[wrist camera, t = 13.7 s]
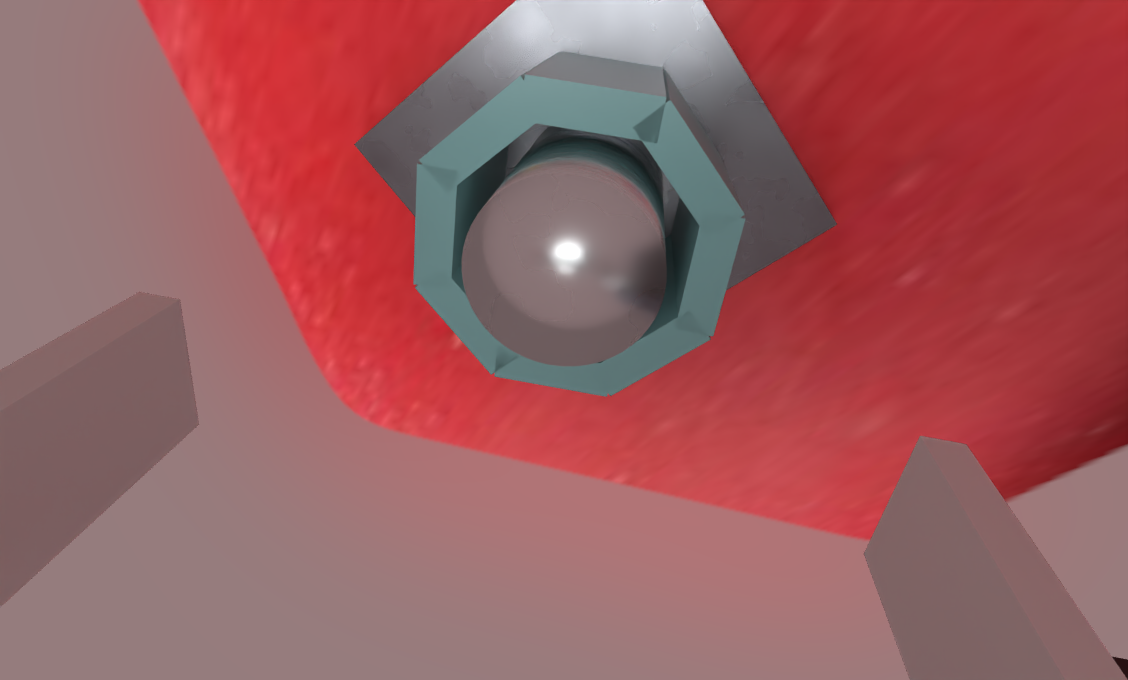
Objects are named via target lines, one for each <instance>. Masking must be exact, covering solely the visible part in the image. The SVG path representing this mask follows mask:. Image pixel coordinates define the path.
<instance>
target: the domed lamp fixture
mask: <svg viewBox="0 0 1128 680" xmlns="http://www.w3.org/2000/svg"><path fill="white" fill-rule="evenodd" d="M561 51H562V52H569V53H575V54H581V55H588V56H594V57H600V58H606V59H613V60H619V61H625V62H632V63H638V64H644V65H650V66H657V67H663V71H664V70H666V71H667V73H668V74H669V76H670V77H671V79H672V80H673V82H674V84H675V85H676V87H677V88H678V90H679V91H680V93H681V95H682V96H683V98H684V99H685V101H686V102H687V104H688V105H689V107H690V109H691V110H692V112H693V113H694V115H695V116H696V118H697V119H698V121H699V123H700V124H701V126H702V127H703V129H704V130H705V132H706V133H707V135H708V137H709V138H710V140H711V141H712V143H713V144H714V146H715V148H716V149H717V151H718V152H719V154H720V156H721V158H722V161H723V163H724V166H725V168H726V170H727V173H728V175H729V178H730V180H731V182H732V185H733V187H734V189H735V192H736V194H737V197H738V199H739V201H740V204H741V206H742V209H743V211H744V213H745V215H744V216H745V218H746V219H745V223H744V226H743V230H742V234H741V237H740V241H739V245H738V248H737V252H736V255H735V259H734V263H733V266H732V270H731V274H730V277H729V281H728V284H727V288H726V290H728V289H729V288H731V287H733V286H734V285H736V284H738V283H739V282H741V281H743V280H744V279H746V278H748V277H749V276H751V275H753V274H755V273H756V272H758V271H760V270H761V269H763V268H765V267H766V266H768V265H770V264H771V263H773V262H775V261H776V260H778V259H780V258H782V257H783V256H785V255H787V254H788V253H790V252H792V251H793V250H795V249H797V248H798V247H800V246H802V245H803V244H805V243H807V242H809V241H810V240H812V239H814V238H815V237H817V236H819V235H820V234H822V233H824V232H825V231H827V230H829V229H830V228H832V227H834V226H836V225H837V223H836V222H835V220H834V218H833V217H832V215H831V213H830V212H829V210H828V208H827V207H826V205H825V203H824V202H823V200H822V198H821V197H820V195H819V193H818V192H817V190H816V188H815V187H814V185H813V183H812V182H811V180H810V178H809V177H808V175H807V173H806V172H805V170H804V168H803V167H802V165H801V163H800V162H799V160H798V158H797V157H796V155H795V153H794V152H793V150H792V148H791V147H790V145H789V143H788V142H787V140H786V138H785V137H784V135H783V133H782V132H781V130H780V128H779V127H778V125H777V123H776V122H775V120H774V118H773V117H772V115H771V113H770V112H769V110H768V109H767V107H766V105H765V104H764V102H763V100H762V99H761V97H760V95H759V94H758V92H757V90H756V89H755V87H754V85H753V84H752V82H751V80H750V79H749V77H748V75H747V74H746V72H745V70H744V69H743V67H742V65H741V64H740V62H739V60H738V59H737V57H736V55H735V54H734V52H733V50H732V49H731V47H730V45H729V44H728V42H727V40H726V39H725V37H724V35H723V34H722V32H721V30H720V29H719V27H718V25H717V24H716V22H715V20H714V19H713V17H712V15H711V14H710V12H709V10H708V9H707V7H706V5H705V4H704V2H703V0H516V1H515V2H514V3H513V4H512V5H510V6H509V7H508V8H507V9H506V10H505V11H504V12H503V13H501V14H500V15H499V16H498V17H497V18H496V19H495V20H494V21H492V22H491V23H490V24H489V25H488V26H487V27H486V28H485V29H483V30H482V31H481V32H480V33H479V34H478V35H477V36H476V37H474V38H473V39H472V40H471V41H470V42H469V43H468V44H467V45H465V46H464V47H463V48H462V49H461V50H460V51H459V52H458V53H456V54H455V55H454V56H453V57H452V58H451V59H450V60H449V61H448V62H446V63H445V64H444V65H443V66H442V67H441V68H440V69H439V70H437V71H436V72H435V73H434V74H433V75H432V76H431V77H430V78H428V79H427V80H426V81H425V82H424V83H423V84H422V85H421V86H419V87H418V88H417V89H416V90H415V91H414V92H413V93H412V94H410V95H409V96H408V97H407V98H406V99H405V100H404V101H403V102H401V103H400V104H399V105H398V106H397V107H396V108H395V109H394V110H392V111H391V112H390V113H389V114H388V115H387V116H386V117H385V118H383V119H382V120H381V121H380V122H379V123H378V124H377V125H376V126H374V127H373V128H372V129H371V130H370V131H369V132H368V133H367V134H365V135H364V136H363V137H362V138H361V139H360V140H359V141H358V142H356V143H355V144H354V145H355V146H356V147H357V148H358V150H359V151H360V152H361V153H362V154H363V155H364V157H365V158H366V159H367V160H368V161H369V163H370V164H371V165H372V166H373V167H374V168H375V170H376V171H377V172H378V173H379V174H380V176H381V177H382V178H383V179H384V180H385V182H386V183H387V184H388V185H389V186H390V187H391V189H392V190H393V191H394V192H395V193H396V195H397V196H398V197H399V198H400V199H401V201H402V202H403V203H404V204H405V205H406V206H407V208H408V209H409V210H410V211H411V212H412V214H413V215H414V216H415V217H416V183H417V163H419V162H420V161H419V159H421V158H422V157H423V156H424V155H426V154H427V153H428V152H429V151H430V150H432V149H433V148H434V147H435V146H436V145H438V144H439V143H440V142H441V141H442V140H444V139H445V138H446V137H447V136H448V135H450V134H451V133H452V132H453V131H454V130H456V129H457V128H458V127H459V126H460V125H462V124H463V123H464V122H465V121H466V120H468V119H469V118H470V117H471V116H472V115H474V114H475V113H476V112H477V111H478V110H480V109H481V108H482V107H483V106H484V105H486V104H487V103H488V102H489V101H490V100H492V99H493V98H494V97H495V96H496V95H498V94H499V93H500V92H501V91H502V90H504V89H505V88H506V87H507V86H509V85H510V84H511V83H512V82H513V81H515V80H516V79H517V78H518V77H519V76H521V75H522V74H524V73H525V72H527V71H529V70H530V69H532V68H534V67H535V66H537V65H538V64H540V63H542V62H543V61H545V60H546V59H548V58H550V57H551V56H553V55H555V54H556V53H560V52H561ZM679 197H680V196H679V195H678V193H677V192H676V190H675V189H674V187H673V186H672V185H671V183H670V182H669V180H668V179H667V177H666V176H665V174H664V173H663V171H662V170H661V168H660V167H659V165H658V164H657V162H656V161H655V160H654V158H653V157H652V155H651V154H650V152H649V151H648V149H647V148H646V146H645V145H644V143H643V142H642V141H641V140H635V139H629V138H622V137H616V136H610V135H604V134H598V133H592V132H586V131H580V130H574V129H567V128H561V127H555V126H549V125H543V124H537V123H535V124H534V125H533V126H532V127H530V128H529V129H528V130H526V131H525V132H524V133H523V134H521V135H520V136H519V137H518V138H516V139H515V140H514V141H513V142H511V143H510V144H509V145H508V154H507V165H506V176H505V180H504V181H503V183H502V184H501V185H500V186H499V188H498V189H497V190H496V191H495V193H494V194H493V195H492V196H491V198H490V199H489V200H488V201H487V203H486V204H485V205H484V206H483V208H482V209H481V210H480V212H479V213H478V214H477V216H476V218H475V219H474V221H473V222H472V224H471V226H470V229H469V231H468V233H467V236H466V239H465V243H464V246H463V253H462V278H463V285H464V288H465V292H466V296H467V298H468V300H469V303H470V305H471V308H472V309H473V311H474V313H475V314H476V316H477V318H478V319H479V321H480V322H481V323H482V325H483V326H484V327H485V329H486V330H487V331H488V332H489V333H490V334H491V335H492V336H493V337H494V338H495V339H497V340H498V341H499V342H500V343H501V344H503V345H504V346H506V347H507V348H509V349H510V350H512V351H513V352H515V353H517V354H519V355H521V356H523V357H525V358H528V359H531V360H533V361H536V362H540V363H544V364H548V365H555V366H583V365H589V364H594V363H598V362H601V361H604V360H607V359H609V358H612V357H614V356H616V355H618V354H620V353H622V352H623V351H625V350H626V349H627V348H629V347H630V346H632V345H633V344H634V343H635V342H636V341H637V340H639V339H640V338H641V337H642V336H643V334H644V333H645V332H646V331H647V330H648V329H649V327H650V326H651V324H652V323H653V321H654V320H655V318H656V316H657V314H658V312H659V309H660V307H661V305H662V301H663V298H664V295H665V288H666V279H667V267H666V247H665V238H666V237H668V236H669V235H671V233H672V229H673V224H674V220H675V215H676V211H677V206H678V202H679Z"/></svg>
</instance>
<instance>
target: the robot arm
mask: <svg viewBox="0 0 1128 680" xmlns="http://www.w3.org/2000/svg"><path fill="white" fill-rule="evenodd" d="M198 425H199V421H198V414H197V408H196V401H195V394H194V388H193V381H192V375H191V368H190V362H189V355H188V349H187V342H186V335H185V329H184V323H183V316H182V309H181V302H180V299H176V298H170V297H165V296H159V295H154V294H149V293H142V292H138V293H136V294H135V295H133V296H131V297H129V298H128V299H126V300H124V301H122V302H120V303H119V304H117V305H115V306H113V307H112V308H110V309H108V310H106V311H104V312H103V313H101V314H99V315H97V316H96V317H94V318H92V319H90V320H88V321H86V322H85V323H83V324H81V325H79V326H78V327H76V328H74V329H72V330H70V331H69V332H67V333H65V334H63V335H62V336H60V337H58V338H56V339H55V340H53V341H51V342H49V343H47V344H46V345H44V346H42V347H40V348H39V349H37V350H35V351H33V352H31V353H29V354H28V355H26V356H24V357H22V358H20V359H19V360H17V361H15V362H14V363H12V364H10V365H8V366H6V367H5V368H3V369H1V370H0V607H1V606H2V605H3V604H4V603H5V602H7V601H8V600H9V599H10V598H11V597H12V596H13V595H14V594H15V593H16V592H17V591H19V590H20V589H21V588H22V587H23V586H24V585H25V584H26V583H27V582H28V581H29V580H30V579H32V578H33V577H34V576H35V575H36V574H37V573H38V572H39V571H40V570H41V569H43V568H44V567H45V566H46V565H47V564H48V563H49V562H50V561H51V560H52V559H53V558H54V557H55V556H57V555H58V554H59V553H60V552H61V551H62V550H63V549H64V548H65V547H66V546H68V545H69V544H70V543H71V542H72V541H73V540H74V539H75V538H76V537H77V536H78V535H79V534H80V533H82V532H83V531H84V530H85V529H86V528H87V527H88V526H89V525H90V524H91V523H92V522H94V521H95V520H96V519H97V518H98V517H99V516H100V515H101V514H102V513H103V512H104V511H106V509H108V508H109V507H110V506H111V505H112V504H113V503H114V502H115V501H116V500H117V499H119V498H120V497H121V496H122V495H123V494H124V493H125V492H126V491H127V490H128V489H129V488H131V487H132V486H133V485H134V484H135V483H136V482H137V481H138V480H139V479H140V478H141V477H142V476H144V475H145V474H146V473H147V472H148V471H149V470H150V469H151V468H152V467H153V466H154V465H156V464H157V463H158V462H159V461H160V460H161V459H162V458H163V457H164V456H165V455H166V454H167V453H169V451H171V450H172V449H173V448H174V447H175V446H176V445H177V444H178V443H179V442H180V441H182V440H183V439H184V438H185V437H186V436H187V435H188V434H189V433H190V432H191V431H192V430H193V429H194V428H196V427H197V426H198ZM864 556H865V558H866V561H867V564H868V567H869V569H870V572H871V575H872V578H873V580H874V583H875V586H876V589H877V591H878V594H879V597H880V600H881V602H882V605H883V608H884V610H885V613H886V616H887V619H888V621H889V624H890V627H891V630H892V632H893V635H894V637H895V641H896V643H897V646H898V649H899V651H900V654H901V657H902V660H903V662H904V665H905V668H906V671H907V673H908V676H909V679H910V680H1128V660H1127V659H1121V658H1116V657H1112V656H1111V655H1110V653H1109V652H1108V651H1107V649H1106V647H1105V646H1104V645H1103V643H1102V642H1101V640H1100V639H1099V638H1098V636H1097V634H1096V633H1095V631H1094V630H1093V629H1092V627H1091V626H1090V624H1089V623H1088V621H1087V620H1086V618H1085V617H1084V616H1083V614H1082V613H1081V611H1080V610H1079V608H1078V607H1077V605H1076V604H1075V602H1074V601H1073V599H1072V598H1071V596H1070V595H1069V593H1068V592H1067V591H1066V589H1065V588H1064V586H1063V585H1062V583H1061V582H1060V580H1059V579H1058V578H1057V576H1056V575H1055V573H1054V572H1053V570H1052V569H1051V567H1050V566H1049V564H1048V563H1047V561H1046V560H1045V559H1044V557H1043V556H1042V554H1041V553H1040V551H1039V550H1038V548H1037V547H1036V545H1035V544H1034V542H1033V541H1032V540H1031V538H1030V537H1029V535H1028V534H1027V532H1026V531H1025V529H1024V528H1023V526H1022V525H1021V523H1020V522H1019V521H1018V519H1017V518H1016V516H1015V515H1014V513H1013V512H1012V510H1011V509H1010V507H1009V506H1008V504H1007V503H1006V502H1005V500H1004V499H1003V497H1002V496H1001V494H1000V493H999V491H998V490H997V488H996V487H995V485H994V484H993V483H992V481H991V480H990V478H989V477H988V475H987V474H986V472H985V471H984V469H983V468H982V467H981V465H980V464H979V462H978V461H977V459H976V458H975V456H974V455H973V453H972V452H971V450H970V449H969V448H968V446H967V445H966V444H962V443H957V442H952V441H946V440H941V439H935V438H930V437H925V436H920V437H919V439H918V441H917V443H916V446H915V448H914V450H913V452H912V454H911V456H910V458H909V460H908V462H907V464H906V466H905V469H904V471H903V473H902V475H901V477H900V479H899V481H898V483H897V485H896V487H895V489H894V491H893V494H892V496H891V498H890V500H889V502H888V504H887V506H886V508H885V510H884V512H883V514H882V517H881V519H880V521H879V523H878V525H877V527H876V529H875V531H874V533H873V535H872V537H871V540H870V542H869V544H868V546H867V548H866V550H865V552H864Z"/></svg>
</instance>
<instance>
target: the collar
mask: <svg viewBox="0 0 1128 680" xmlns="http://www.w3.org/2000/svg"><path fill="white" fill-rule="evenodd" d="M535 123H537V124H543V125H549V126H555V127H561V128H567V129H574V130H580V131H586V132H592V133H598V134H604V135H610V136H616V137H622V138H629V139H635V140H641V141H642V142H643V143H644V145H645V146H646V148H647V149H648V151H649V152H650V154H651V155H652V157H653V158H654V160H655V161H656V162H657V164H658V165H659V167H660V168H661V170H662V171H663V173H664V174H665V176H666V177H667V179H668V180H669V182H670V183H671V185H672V186H673V187H674V189H675V190H676V192H677V193H678V195H679V196H680V197H679V202H678V206H677V211H676V215H675V220H674V224H673V229H672V233H671V235H669V236H668V237H666V238H665V247H666V267H667V279H666V288H665V295H664V298H663V301H662V305H661V307H660V309H659V312H658V314H657V316H656V318H655V320H654V321H653V323H652V324H651V326H650V327H649V329H648V330H647V331H646V332H645V333H644V334H643V336H642V337H641V338H640V339H639V340H637V341H636V342H635V343H634V344H633V345H632V346H630V347H629V348H627V349H626V350H625V351H623V352H622V353H620V354H618V355H616V356H614V357H612V358H609V359H607V360H604V361H601V362H598V363H594V364H589V365H583V366H555V365H548V364H544V363H540V362H536V361H533V360H531V359H528V358H525V357H523V356H521V355H519V354H517V353H515V352H513V351H512V350H510V349H509V348H507V347H506V346H504V345H503V344H501V343H500V342H499V341H498V340H497V339H495V338H494V337H493V336H492V335H491V334H490V333H489V332H488V331H487V330H486V329H485V327H484V326H483V325H482V323H481V322H480V321H479V319H478V318H477V316H476V314H475V313H474V311H473V309H472V308H471V305H470V303H469V300H468V298H467V296H466V292H465V288H464V285H463V278H462V253H463V246H464V243H465V239H466V236H467V233H468V231H469V229H470V226H471V224H472V222H473V221H474V219H475V218H476V216H477V214H478V213H479V212H480V210H481V209H482V208H483V206H484V205H485V204H486V203H487V201H488V200H489V199H490V198H491V196H492V195H493V194H494V193H495V191H496V190H497V189H498V188H499V186H500V185H501V184H502V183H503V181H504V180H505V176H506V165H507V154H508V145H509V144H510V143H511V142H513V141H514V140H515V139H516V138H518V137H519V136H520V135H521V134H523V133H524V132H525V131H526V130H528V129H529V128H530V127H532V126H533V125H534V124H535ZM419 161H420V162H419V163H417V183H416V217H415V250H414V284H416V285H417V286H416V287H415V288H416V289H417V291H418V292H419V293H420V294H421V295H422V296H423V297H424V299H425V300H426V301H427V302H428V303H429V304H430V305H431V307H432V308H433V309H434V310H435V311H436V312H437V313H438V315H439V316H440V317H441V318H442V319H443V320H444V321H445V323H446V324H447V325H448V326H449V327H450V328H451V329H452V331H453V332H454V333H455V334H456V335H457V336H458V337H459V338H460V340H461V341H462V342H463V343H464V344H465V345H466V346H467V348H468V349H469V350H470V351H471V352H472V353H473V354H474V356H475V357H476V358H477V359H478V360H479V361H480V362H481V364H482V365H483V366H484V367H485V368H486V369H487V370H488V372H489V373H490V374H493V373H495V377H500V378H506V379H511V380H517V381H522V382H528V383H533V384H539V385H545V386H550V387H556V388H561V389H567V390H572V391H578V392H583V393H589V394H595V395H600V396H606V397H607V394H609V395H610V396H612V395H613V394H615V393H617V392H619V391H621V390H622V389H624V388H626V387H628V386H629V385H631V384H633V383H635V382H636V381H638V380H640V379H642V378H643V377H645V376H647V375H649V374H651V373H652V372H654V371H656V370H658V369H659V368H661V367H663V366H665V365H666V364H668V363H670V362H672V361H674V360H675V359H677V358H679V357H681V356H682V355H684V354H686V353H688V352H689V351H691V350H693V349H695V348H697V347H698V346H700V345H702V344H704V343H705V342H707V341H709V340H711V338H710V336H713V335H714V332H715V328H716V324H717V321H718V317H719V313H720V310H721V306H722V303H723V299H724V295H725V292H726V288H727V284H728V281H729V277H730V274H731V270H732V266H733V263H734V259H735V255H736V252H737V248H738V245H739V241H740V237H741V234H742V230H743V226H744V223H745V219H746V218H745V216H744V215H745V213H744V211H743V209H742V206H741V204H740V201H739V199H738V197H737V194H736V192H735V189H734V187H733V185H732V182H731V180H730V178H729V175H728V173H727V170H726V168H725V166H724V163H723V161H722V158H721V156H720V154H719V152H718V151H717V149H716V148H715V146H714V144H713V143H712V141H711V140H710V138H709V137H708V135H707V133H706V132H705V130H704V129H703V127H702V126H701V124H700V123H699V121H698V119H697V118H696V116H695V115H694V113H693V112H692V110H691V109H690V107H689V105H688V104H687V102H686V101H685V99H684V98H683V96H682V95H681V93H680V91H679V90H678V88H677V87H676V85H675V84H674V82H673V80H672V79H671V77H670V76H669V74H668V73H667V71H666V70H664V71H663V67H657V66H650V65H644V64H638V63H632V62H625V61H619V60H613V59H606V58H600V57H594V56H588V55H581V54H575V53H569V52H562V51H561V52H560V53H556V54H555V55H553V56H551V57H550V58H548V59H546V60H545V61H543V62H542V63H540V64H538V65H537V66H535V67H534V68H532V69H530V70H529V71H527V72H525V73H524V74H522V75H521V76H519V77H518V78H517V79H516V80H515V81H513V82H512V83H511V84H510V85H509V86H507V87H506V88H505V89H504V90H502V91H501V92H500V93H499V94H498V95H496V96H495V97H494V98H493V99H492V100H490V101H489V102H488V103H487V104H486V105H484V106H483V107H482V108H481V109H480V110H478V111H477V112H476V113H475V114H474V115H472V116H471V117H470V118H469V119H468V120H466V121H465V122H464V123H463V124H462V125H460V126H459V127H458V128H457V129H456V130H454V131H453V132H452V133H451V134H450V135H448V136H447V137H446V138H445V139H444V140H442V141H441V142H440V143H439V144H438V145H436V146H435V147H434V148H433V149H432V150H430V151H429V152H428V153H427V154H426V155H424V156H423V157H422V158H421V159H419Z"/></svg>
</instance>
